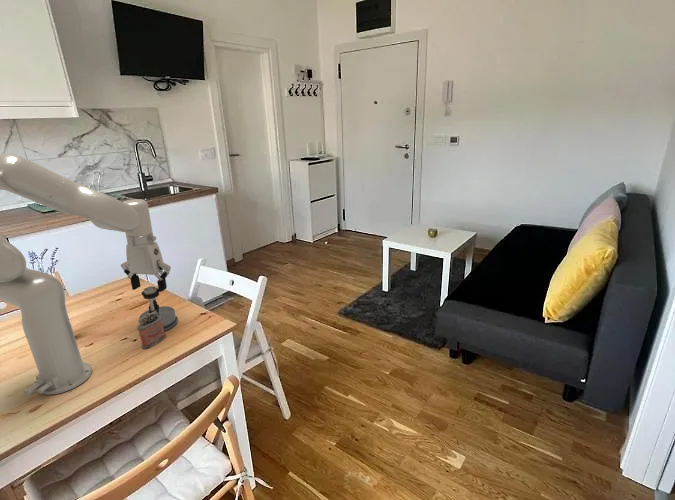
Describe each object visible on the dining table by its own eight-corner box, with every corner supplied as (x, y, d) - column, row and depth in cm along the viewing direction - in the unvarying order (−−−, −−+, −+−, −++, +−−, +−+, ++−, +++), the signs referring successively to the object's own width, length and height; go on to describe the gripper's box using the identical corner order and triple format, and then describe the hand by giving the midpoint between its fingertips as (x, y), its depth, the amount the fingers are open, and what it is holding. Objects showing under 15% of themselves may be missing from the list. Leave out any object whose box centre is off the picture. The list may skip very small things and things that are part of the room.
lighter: (161, 334, 125) (155, 307, 121) (168, 336, 123) (162, 309, 120) (139, 347, 118) (132, 319, 115) (147, 350, 117) (140, 321, 113)
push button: (150, 310, 132) (144, 284, 128) (166, 309, 133) (161, 282, 129) (145, 320, 126) (138, 293, 122) (162, 318, 126) (156, 291, 123)
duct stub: (164, 335, 124) (162, 324, 123) (131, 332, 126) (129, 322, 125) (185, 316, 135) (183, 306, 134) (154, 314, 137) (152, 304, 136)
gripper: (172, 237, 122) (180, 286, 127) (124, 234, 125) (134, 283, 131) (157, 244, 115) (166, 295, 120) (107, 241, 118) (118, 292, 124)
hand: (149, 289), depth 125 cm, fingers open, 9 cm apart
